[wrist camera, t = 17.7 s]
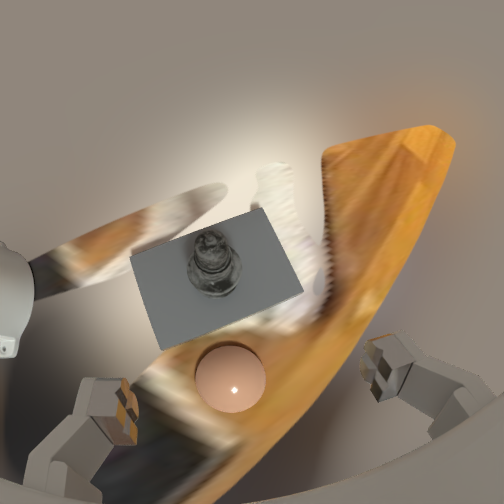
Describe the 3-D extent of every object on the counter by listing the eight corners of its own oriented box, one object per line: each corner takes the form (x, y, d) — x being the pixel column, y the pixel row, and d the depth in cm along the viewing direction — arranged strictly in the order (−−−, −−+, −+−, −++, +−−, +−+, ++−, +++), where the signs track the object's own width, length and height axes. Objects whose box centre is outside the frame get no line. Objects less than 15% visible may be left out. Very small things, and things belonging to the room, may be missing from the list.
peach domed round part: (213, 420, 30) (213, 422, 29) (185, 360, 32) (184, 360, 31) (275, 394, 32) (276, 395, 31) (248, 335, 34) (248, 334, 33)
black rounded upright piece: (208, 244, 36) (200, 192, 24) (250, 268, 35) (260, 225, 24) (181, 284, 34) (158, 247, 22) (224, 311, 33) (221, 286, 22)
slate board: (163, 350, 32) (160, 350, 31) (132, 260, 36) (129, 257, 34) (301, 294, 36) (304, 291, 35) (260, 212, 39) (262, 207, 38)
